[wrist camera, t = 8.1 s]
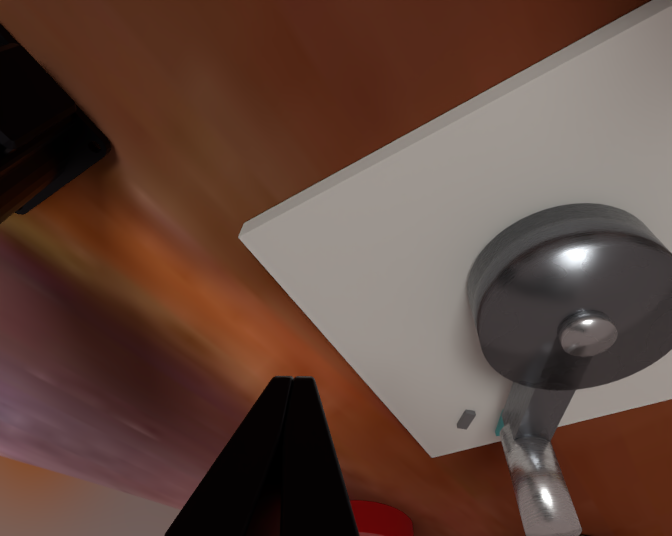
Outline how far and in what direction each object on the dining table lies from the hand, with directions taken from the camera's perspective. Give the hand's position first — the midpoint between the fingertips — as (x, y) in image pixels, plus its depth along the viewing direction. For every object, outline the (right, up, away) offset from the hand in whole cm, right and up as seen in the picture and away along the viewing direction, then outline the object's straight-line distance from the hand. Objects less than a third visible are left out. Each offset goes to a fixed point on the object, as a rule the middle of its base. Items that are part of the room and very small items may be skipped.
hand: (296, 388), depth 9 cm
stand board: (+11, +1, +13) cm, 17 cm away
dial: (+11, 0, +13) cm, 17 cm away
